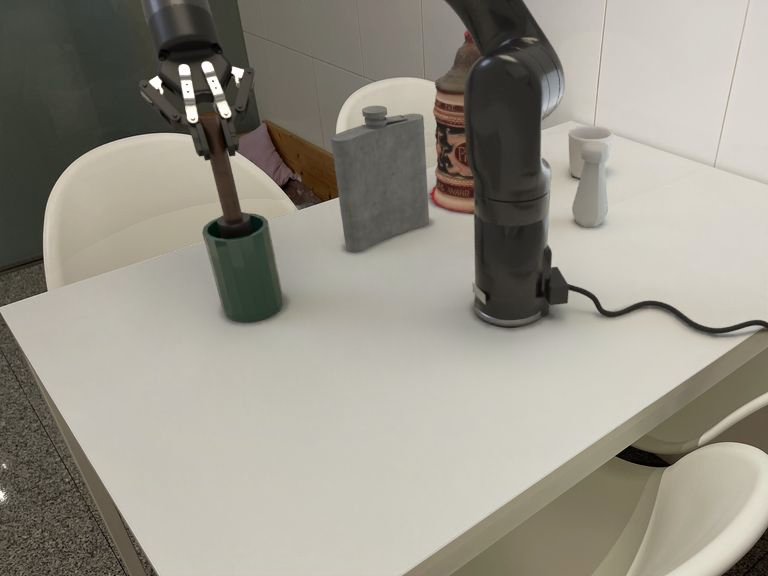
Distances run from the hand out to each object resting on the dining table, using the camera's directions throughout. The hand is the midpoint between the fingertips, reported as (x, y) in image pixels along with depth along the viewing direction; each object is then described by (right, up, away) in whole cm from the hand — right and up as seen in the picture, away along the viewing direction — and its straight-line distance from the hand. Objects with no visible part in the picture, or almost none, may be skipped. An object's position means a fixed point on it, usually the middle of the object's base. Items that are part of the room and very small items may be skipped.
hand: (220, 154), depth 81 cm
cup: (+51, +9, +49) cm, 72 cm away
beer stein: (+30, +5, +44) cm, 54 cm away
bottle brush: (-1, -10, +10) cm, 14 cm away
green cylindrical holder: (0, -17, +14) cm, 22 cm away
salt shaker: (+49, -2, +34) cm, 60 cm away
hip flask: (+16, -4, +32) cm, 36 cm away
